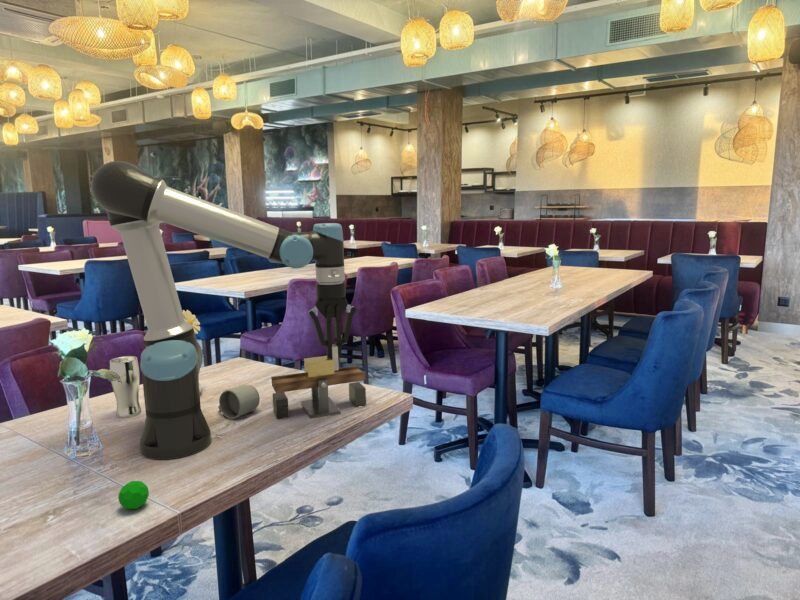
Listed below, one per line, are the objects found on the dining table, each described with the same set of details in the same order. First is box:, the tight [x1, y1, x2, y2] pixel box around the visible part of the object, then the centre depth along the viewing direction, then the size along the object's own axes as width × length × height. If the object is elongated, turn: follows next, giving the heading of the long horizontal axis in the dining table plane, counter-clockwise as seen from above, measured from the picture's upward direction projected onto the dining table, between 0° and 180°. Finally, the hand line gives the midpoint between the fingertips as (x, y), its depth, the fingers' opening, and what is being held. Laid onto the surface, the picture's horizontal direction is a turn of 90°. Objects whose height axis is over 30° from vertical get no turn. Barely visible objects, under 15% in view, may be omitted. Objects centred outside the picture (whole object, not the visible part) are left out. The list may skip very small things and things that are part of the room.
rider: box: [303, 355, 334, 379], centre depth 149 cm, size 7×5×5 cm, turn 111°
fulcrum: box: [272, 379, 367, 420], centre depth 150 cm, size 24×12×9 cm, turn 111°
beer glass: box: [109, 355, 142, 419], centre depth 148 cm, size 7×7×15 cm
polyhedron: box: [117, 480, 150, 510], centre depth 102 cm, size 5×5×5 cm
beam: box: [270, 365, 366, 393], centre depth 149 cm, size 24×7×2 cm, turn 111°
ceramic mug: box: [218, 384, 260, 420], centre depth 148 cm, size 11×8×8 cm
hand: (334, 369), depth 150 cm, fingers closed
